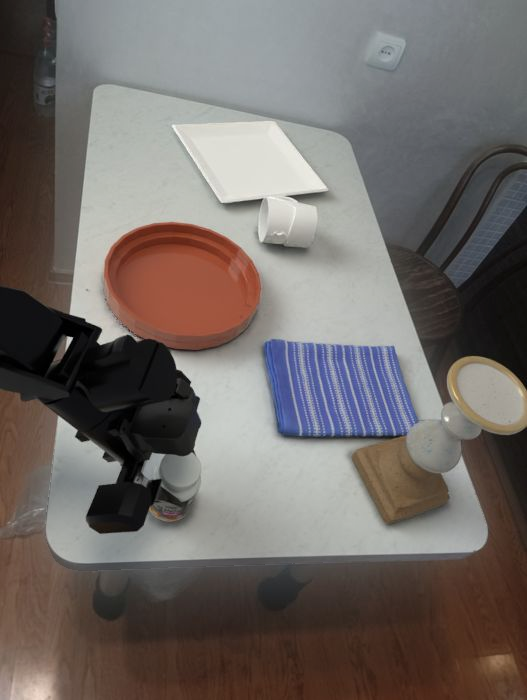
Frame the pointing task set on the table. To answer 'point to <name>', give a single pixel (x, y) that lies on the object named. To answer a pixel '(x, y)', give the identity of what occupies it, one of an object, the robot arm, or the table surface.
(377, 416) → the dish towel
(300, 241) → the mug
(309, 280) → the table surface
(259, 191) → the plate
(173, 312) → the bowl
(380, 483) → the candle holder
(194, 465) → the pill bottle
